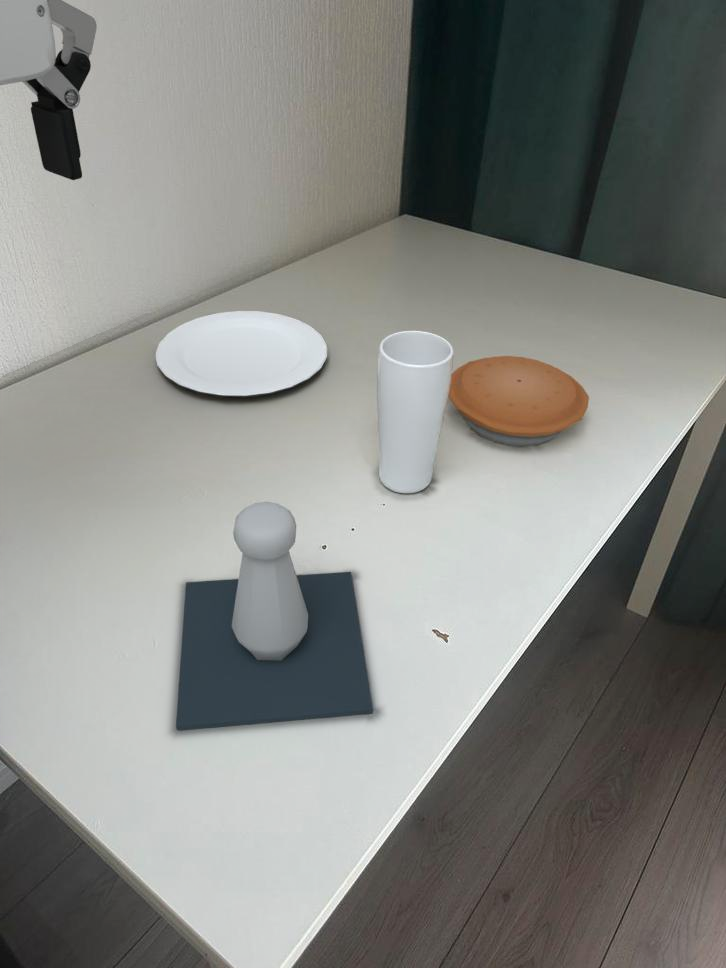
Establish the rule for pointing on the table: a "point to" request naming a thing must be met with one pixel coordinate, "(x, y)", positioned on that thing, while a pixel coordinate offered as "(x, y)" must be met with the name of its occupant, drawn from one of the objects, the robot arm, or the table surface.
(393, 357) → the drinking glass
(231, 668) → the mat
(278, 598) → the salt shaker
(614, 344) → the table surface
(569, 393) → the pie
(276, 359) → the plate
